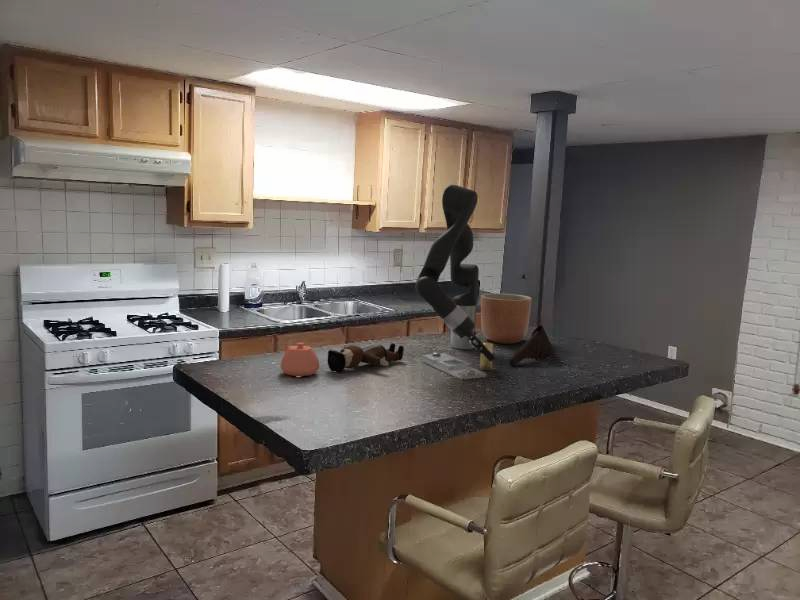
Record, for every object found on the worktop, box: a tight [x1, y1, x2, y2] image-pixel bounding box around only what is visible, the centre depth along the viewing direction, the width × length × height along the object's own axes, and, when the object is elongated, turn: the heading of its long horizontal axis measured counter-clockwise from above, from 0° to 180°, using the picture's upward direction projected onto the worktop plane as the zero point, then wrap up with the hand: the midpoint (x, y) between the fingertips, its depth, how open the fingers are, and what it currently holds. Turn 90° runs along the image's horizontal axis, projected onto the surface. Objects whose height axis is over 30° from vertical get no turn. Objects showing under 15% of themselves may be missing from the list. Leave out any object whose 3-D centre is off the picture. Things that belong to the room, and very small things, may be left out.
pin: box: [479, 341, 494, 371], centre depth 218 cm, size 4×4×9 cm
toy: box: [327, 343, 405, 374], centre depth 216 cm, size 24×10×30 cm
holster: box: [508, 324, 556, 367], centre depth 234 cm, size 5×16×25 cm
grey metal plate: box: [421, 351, 487, 381], centre depth 217 cm, size 26×10×3 cm, turn 28°
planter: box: [480, 292, 532, 345], centre depth 267 cm, size 21×21×19 cm
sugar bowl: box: [280, 342, 320, 377], centre depth 203 cm, size 12×14×10 cm
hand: (491, 357), depth 218 cm, fingers closed on pin, 4 cm apart
